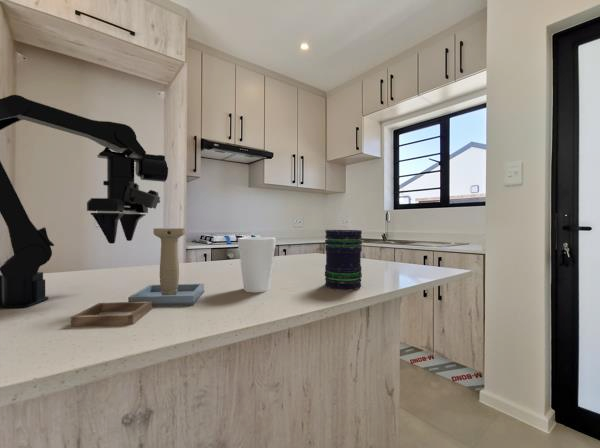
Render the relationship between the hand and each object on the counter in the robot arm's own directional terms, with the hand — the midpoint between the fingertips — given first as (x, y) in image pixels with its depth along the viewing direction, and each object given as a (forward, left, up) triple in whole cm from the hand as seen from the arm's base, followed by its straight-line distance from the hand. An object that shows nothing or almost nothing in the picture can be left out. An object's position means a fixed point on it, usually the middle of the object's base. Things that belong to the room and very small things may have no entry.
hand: (121, 242), depth 74 cm
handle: (+14, -9, -12) cm, 20 cm away
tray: (+14, -9, -12) cm, 20 cm away
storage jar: (+56, 0, -12) cm, 57 cm away
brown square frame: (+8, -21, -12) cm, 25 cm away
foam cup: (+33, -2, -12) cm, 35 cm away
